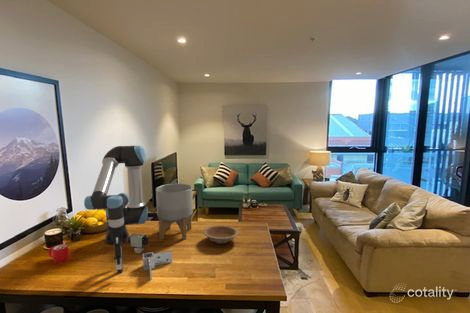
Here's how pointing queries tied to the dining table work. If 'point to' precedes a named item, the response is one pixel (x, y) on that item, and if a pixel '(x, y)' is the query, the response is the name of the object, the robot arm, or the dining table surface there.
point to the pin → (121, 260)
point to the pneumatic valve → (138, 242)
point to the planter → (174, 207)
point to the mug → (59, 253)
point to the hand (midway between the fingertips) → (119, 263)
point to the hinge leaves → (156, 260)
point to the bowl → (220, 233)
